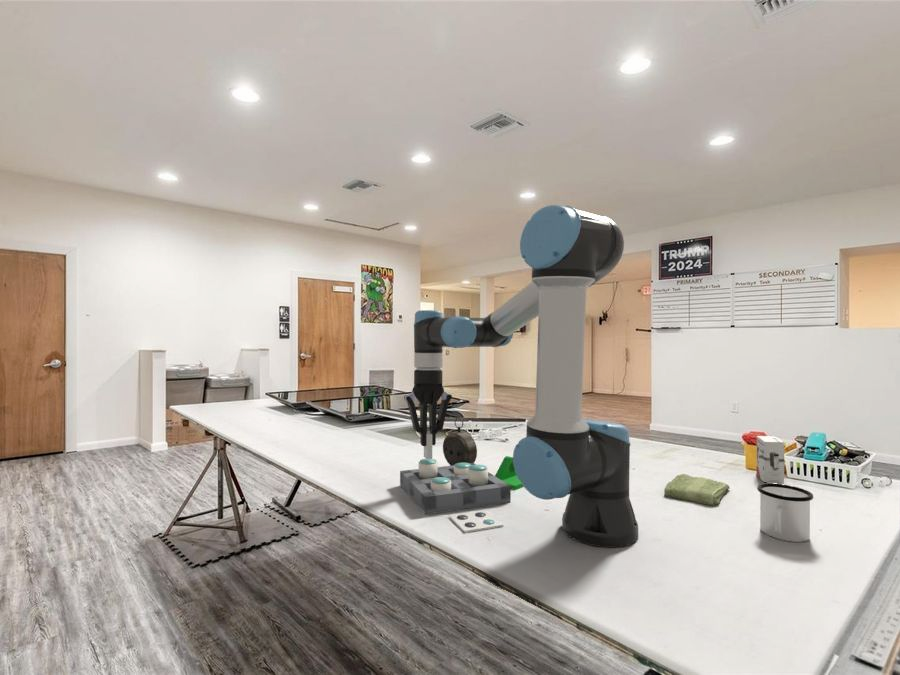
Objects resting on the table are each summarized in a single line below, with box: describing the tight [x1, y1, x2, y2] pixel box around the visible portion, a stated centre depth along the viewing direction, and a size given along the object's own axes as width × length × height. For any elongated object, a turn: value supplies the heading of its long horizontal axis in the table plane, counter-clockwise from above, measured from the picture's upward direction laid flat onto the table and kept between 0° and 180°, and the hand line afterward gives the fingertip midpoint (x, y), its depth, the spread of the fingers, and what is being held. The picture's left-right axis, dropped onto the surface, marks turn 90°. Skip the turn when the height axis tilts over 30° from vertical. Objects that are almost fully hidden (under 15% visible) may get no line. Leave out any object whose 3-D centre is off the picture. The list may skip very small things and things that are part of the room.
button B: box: [418, 458, 439, 479], centre depth 124 cm, size 5×5×4 cm
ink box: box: [756, 435, 786, 485], centre depth 134 cm, size 9×5×12 cm, turn 161°
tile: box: [448, 509, 504, 534], centre depth 103 cm, size 9×9×1 cm
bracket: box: [494, 455, 524, 491], centre depth 132 cm, size 12×8×7 cm, turn 135°
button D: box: [454, 463, 471, 476], centre depth 128 cm, size 5×5×4 cm
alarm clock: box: [442, 417, 478, 466], centre depth 142 cm, size 11×5×16 cm, turn 45°
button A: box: [431, 477, 451, 492], centre depth 115 cm, size 5×5×4 cm
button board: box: [399, 462, 512, 515], centre depth 122 cm, size 22×22×4 cm
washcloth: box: [663, 473, 731, 507], centre depth 123 cm, size 13×18×3 cm
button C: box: [468, 464, 489, 487], centre depth 119 cm, size 5×5×4 cm
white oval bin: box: [756, 483, 814, 543], centre depth 96 cm, size 12×10×9 cm
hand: (428, 457), depth 124 cm, fingers closed
